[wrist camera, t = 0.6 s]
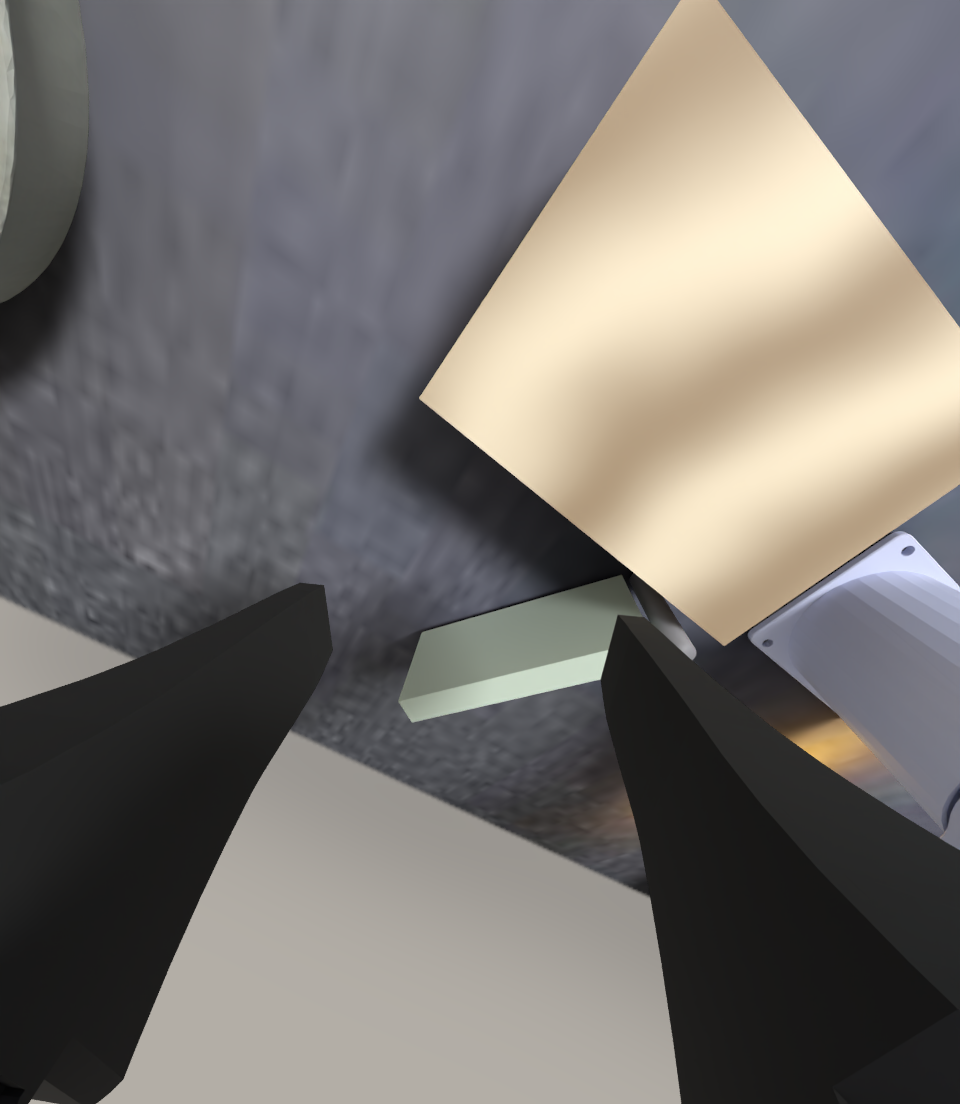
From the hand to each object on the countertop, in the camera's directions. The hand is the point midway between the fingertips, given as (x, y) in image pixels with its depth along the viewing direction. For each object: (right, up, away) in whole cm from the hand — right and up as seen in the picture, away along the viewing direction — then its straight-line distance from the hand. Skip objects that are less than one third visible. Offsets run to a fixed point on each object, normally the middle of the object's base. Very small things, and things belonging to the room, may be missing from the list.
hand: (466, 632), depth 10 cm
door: (+3, -2, +12) cm, 12 cm away
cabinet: (+8, +8, +6) cm, 13 cm away
